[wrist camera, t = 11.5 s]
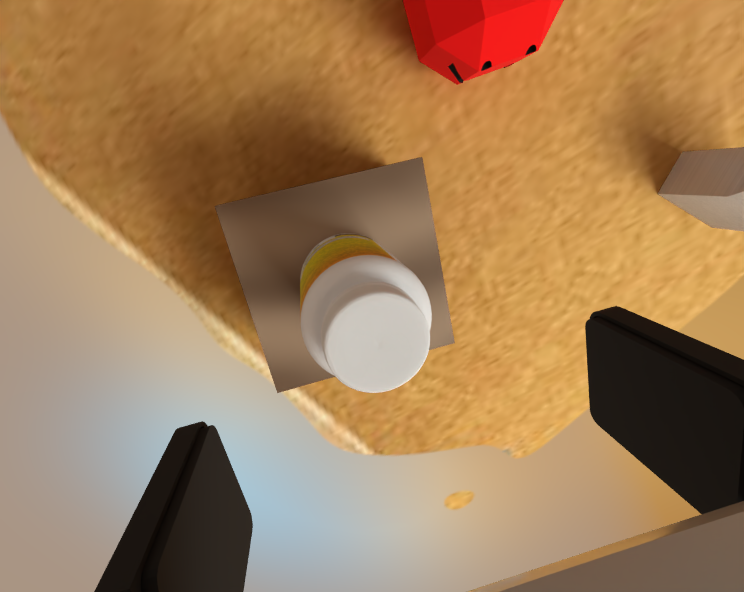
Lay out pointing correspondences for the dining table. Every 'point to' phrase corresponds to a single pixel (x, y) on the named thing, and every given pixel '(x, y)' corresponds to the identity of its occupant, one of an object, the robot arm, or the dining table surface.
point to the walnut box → (310, 227)
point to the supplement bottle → (363, 313)
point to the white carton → (709, 186)
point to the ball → (477, 33)
